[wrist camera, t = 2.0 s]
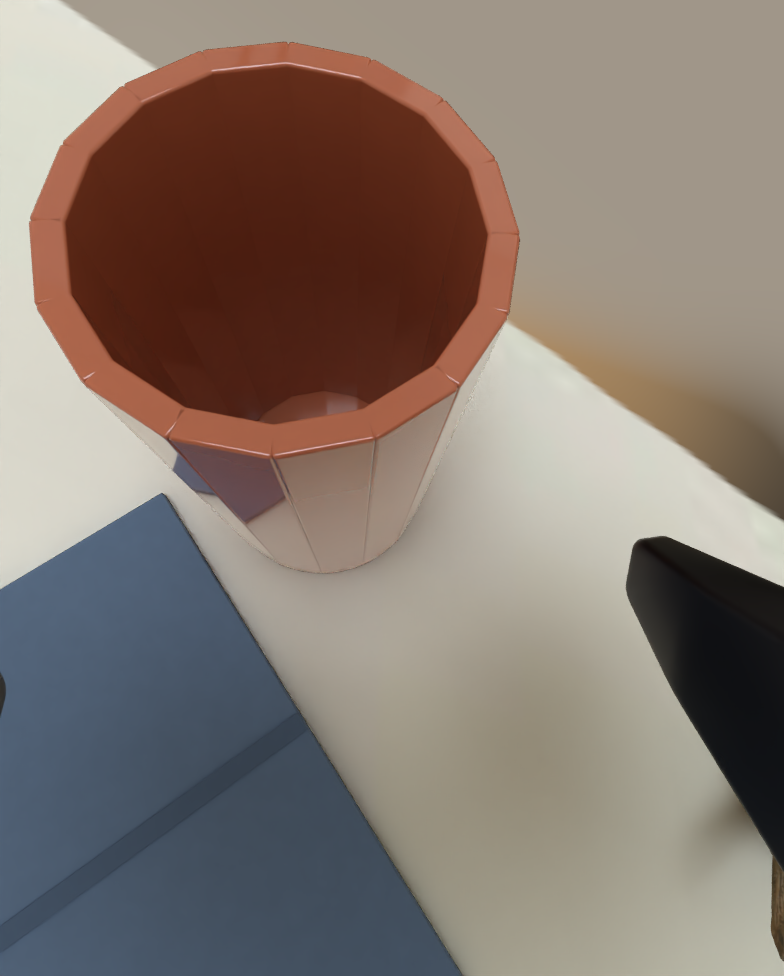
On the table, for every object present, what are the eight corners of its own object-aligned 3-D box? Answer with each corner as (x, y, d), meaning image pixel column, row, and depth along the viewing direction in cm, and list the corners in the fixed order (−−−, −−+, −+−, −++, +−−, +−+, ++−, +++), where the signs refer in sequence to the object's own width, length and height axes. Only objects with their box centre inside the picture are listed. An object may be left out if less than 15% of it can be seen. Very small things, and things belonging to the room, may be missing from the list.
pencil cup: (458, 502, 21) (612, 291, 9) (293, 613, 20) (187, 558, 7) (351, 354, 22) (348, -16, 10) (189, 450, 21) (-56, 159, 8)
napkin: (468, 984, 17) (471, 994, 17) (94, 1316, 15) (85, 1339, 14) (165, 495, 20) (161, 491, 20) (-182, 703, 18) (-197, 704, 18)
